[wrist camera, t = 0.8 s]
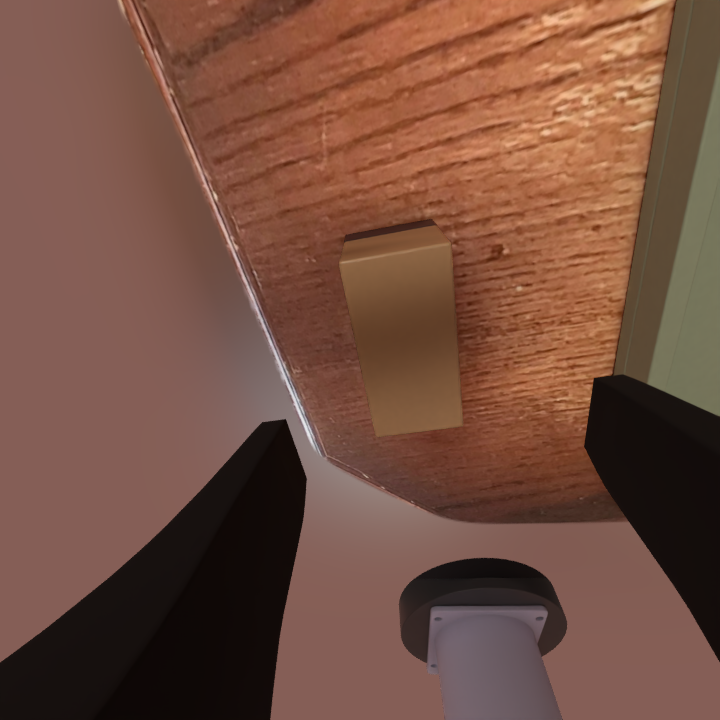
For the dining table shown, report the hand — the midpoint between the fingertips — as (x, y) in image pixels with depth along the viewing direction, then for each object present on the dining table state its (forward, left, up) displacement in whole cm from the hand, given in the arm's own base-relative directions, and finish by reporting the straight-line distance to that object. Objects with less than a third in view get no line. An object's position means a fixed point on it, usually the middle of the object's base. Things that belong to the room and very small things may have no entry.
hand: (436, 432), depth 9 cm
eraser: (0, 0, -8) cm, 8 cm away
